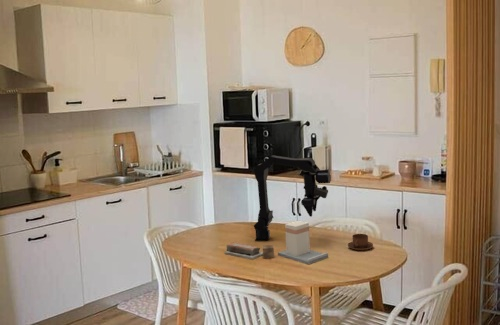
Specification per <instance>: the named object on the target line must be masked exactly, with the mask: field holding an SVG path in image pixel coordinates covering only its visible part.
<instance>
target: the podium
mask: <svg viewBox="0 0 500 325" xmlns="http://www.w3.org/2000/svg"><path fill="white" fill-rule="evenodd" d="M277 256H279V257H284V258H286V259H289V260H292V261H296V262H300V263H303V264H306V265H310V264H311V265H312V264H313V263H316V262H319V261H322V260H324V259H328V258H329V252H328V251H327V252H324V253H323V252H319V251H315V250H312V249H310V252H308V253H305V254H302V255H299V256H295V255H292V254H288V253H286V249H285V250H283V251H279V252H277Z"/></svg>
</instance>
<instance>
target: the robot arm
mask: <svg viewBox="0 0 500 325" xmlns="http://www.w3.org/2000/svg"><path fill="white" fill-rule="evenodd" d="M273 165H279V166H288V167H294V168H297V169H299V170H301V172H300V173H299V174H298V176H300V177H302V176H303V183H304V184H303V189H304V195H303V196H304V197H303V198H302V199H301V201H300V202H301V205H302V206H303V208H304V209H305V210H306V212H307V214H308V216H309V217H310V218H311V217H313V212H316V211H317V205H318V200H319V199H320V198H322V199H327V196H328V193H329V189H328V188H327V186H325V185H323V186H322V187H319V186H318V184H330V183H331V182H332V181H331V180H332V176H331V172H330V170H329V168H326V169H320V167H318V165H317V164H316V161H315V160H314V159H313V158H312V157H303V158H301V157H300V158H296V157H286V156H280V155H275V154H273V155H271V156H269V157H268V158H267V159H265V160H264V161H263V162H261V163H259V164H257V165H255V166H254V168H253V173H254V178H255V180H256V181H257V191H258V201H259V202H258V203H259V211H258V215H257V216H258V217H257V222H256V223H255V224H254V225H253V228H254V230H255V240H254V241H255V242H256V241H260V242H266V241H268V240H269V239H270V238H271V236H270V234H271V232H270V229H269V226H270V224H271V222H272V221H273V219H274V216H273V215H274V214H273V213H274V210H270V208H269V207H270V206H269V198H268V185H267V184H268V183H267V179H268V176H269V169H271V167H272V166H273Z"/></svg>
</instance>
